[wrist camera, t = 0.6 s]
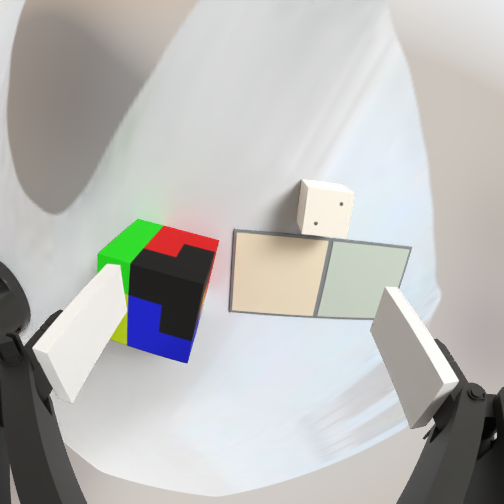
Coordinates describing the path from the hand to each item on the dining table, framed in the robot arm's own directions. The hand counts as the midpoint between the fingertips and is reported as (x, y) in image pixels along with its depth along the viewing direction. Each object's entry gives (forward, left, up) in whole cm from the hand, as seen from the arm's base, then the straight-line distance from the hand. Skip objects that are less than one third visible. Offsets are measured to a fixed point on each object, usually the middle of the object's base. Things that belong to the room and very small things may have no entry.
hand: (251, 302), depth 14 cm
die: (+7, +1, -19) cm, 20 cm away
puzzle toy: (-10, -9, -19) cm, 23 cm away
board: (+9, -9, -19) cm, 23 cm away
